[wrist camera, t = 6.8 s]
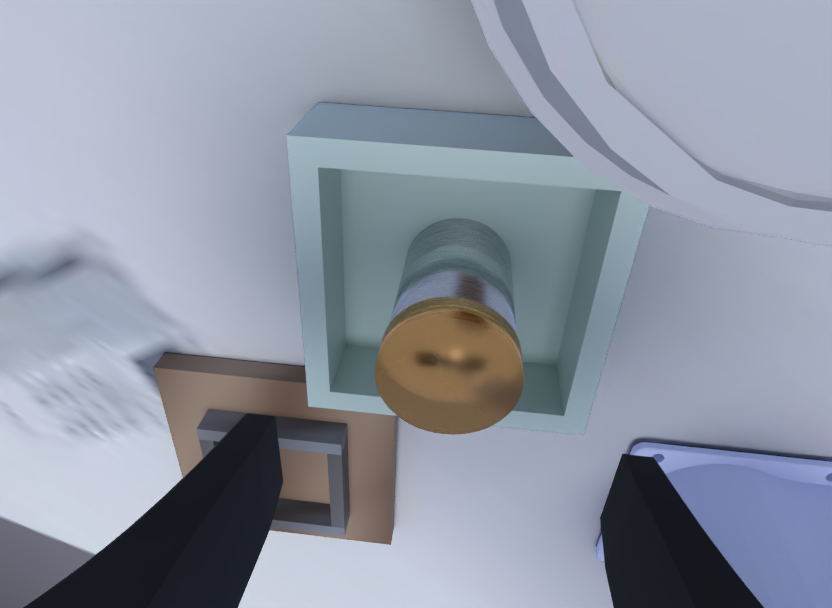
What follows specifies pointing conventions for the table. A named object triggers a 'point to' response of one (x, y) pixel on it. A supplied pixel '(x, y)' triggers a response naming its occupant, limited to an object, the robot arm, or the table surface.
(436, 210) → the bin
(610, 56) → the disposable coffee cup
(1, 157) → the table surface
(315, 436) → the socket plate
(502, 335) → the metal can
